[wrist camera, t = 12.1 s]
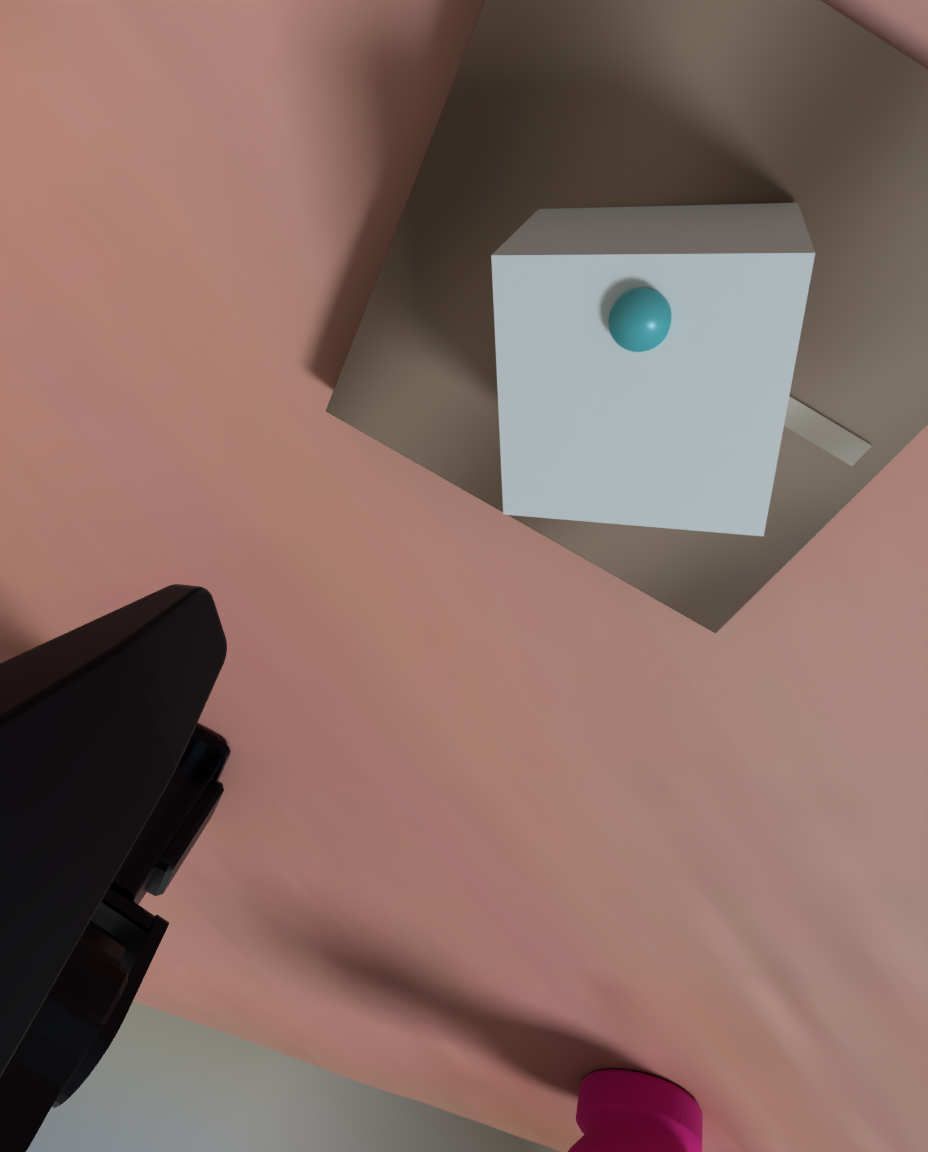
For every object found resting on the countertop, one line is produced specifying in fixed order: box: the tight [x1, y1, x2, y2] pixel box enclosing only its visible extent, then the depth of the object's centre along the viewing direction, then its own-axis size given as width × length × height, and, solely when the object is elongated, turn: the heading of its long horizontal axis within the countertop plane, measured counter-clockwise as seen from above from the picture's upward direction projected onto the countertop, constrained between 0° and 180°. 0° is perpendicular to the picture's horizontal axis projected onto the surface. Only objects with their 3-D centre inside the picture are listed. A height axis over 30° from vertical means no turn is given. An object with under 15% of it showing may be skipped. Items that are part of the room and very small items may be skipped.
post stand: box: [326, 0, 928, 633], centre depth 16 cm, size 12×12×4 cm
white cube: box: [491, 203, 815, 536], centre depth 15 cm, size 5×5×4 cm
